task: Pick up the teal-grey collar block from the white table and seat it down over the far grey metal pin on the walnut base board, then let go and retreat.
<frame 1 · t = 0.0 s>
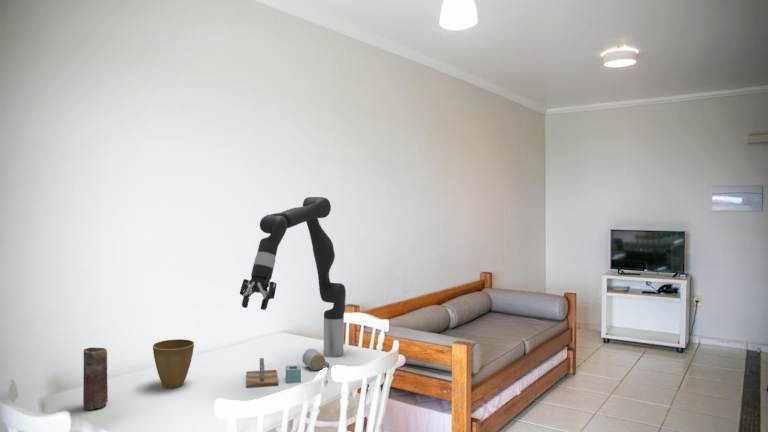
hand: (253, 308, 198), 31 cm above the table, tool tilted 20°, fingers open, 8 cm apart
ceramic mug: (316, 368, 230), on the table
pin board: (261, 379, 214), on the table
collar block: (293, 380, 214), on the table
plant pot: (173, 385, 207), on the table
candle: (95, 407, 185), on the table
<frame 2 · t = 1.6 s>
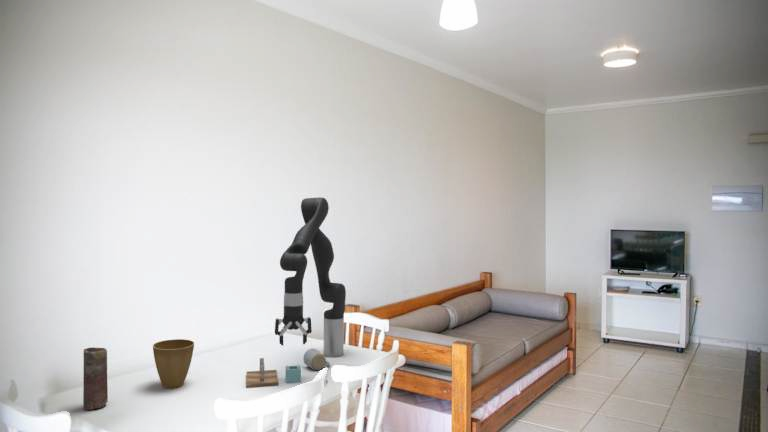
hand: (293, 344, 214), 14 cm above the table, tool pointing down, fingers open, 8 cm apart
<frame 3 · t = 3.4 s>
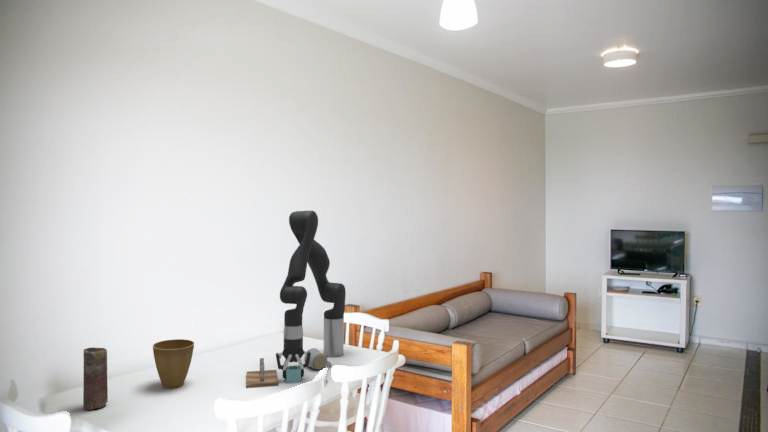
hand: (293, 378, 214), 1 cm above the table, tool pointing down, fingers closed on collar block, 5 cm apart
collar block: (293, 380, 214), on the table, touching gripper
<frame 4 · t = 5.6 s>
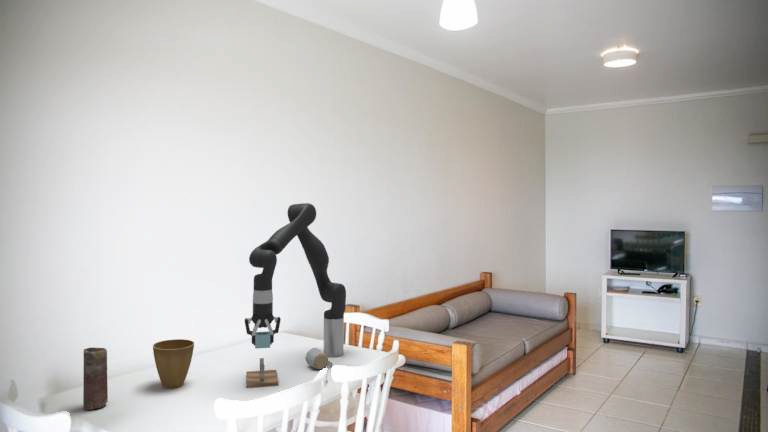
hand: (262, 344, 209), 15 cm above the table, tool pointing down, fingers closed on collar block, 5 cm apart
collar block: (262, 346, 209), point 15 cm above the table, touching gripper
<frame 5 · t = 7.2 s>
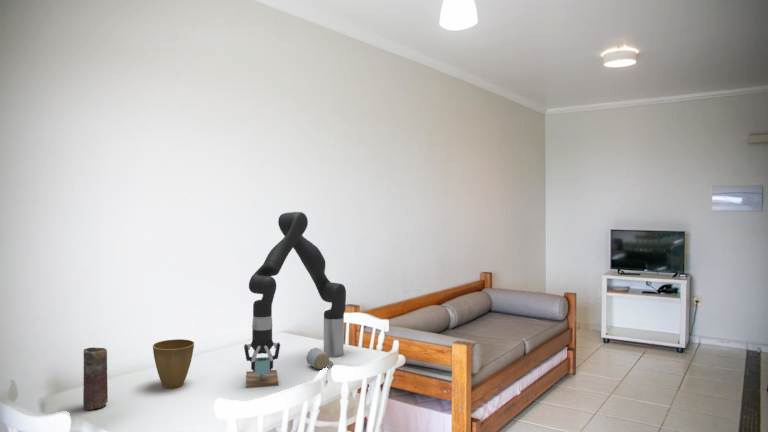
hand: (262, 370, 210), 5 cm above the table, tool pointing down, fingers closed on collar block, 5 cm apart
collar block: (262, 372, 210), point 5 cm above the table, touching gripper
when the fingers open (3 cm above the table, at t = 8.2 s): collar block stays where it is, resting on pin board.
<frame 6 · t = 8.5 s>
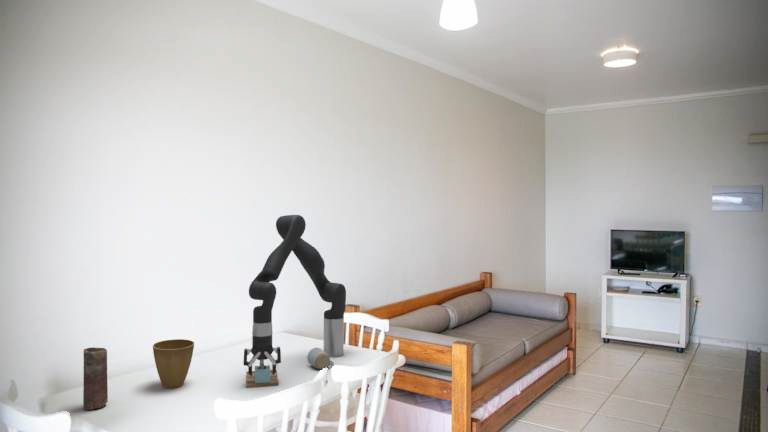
hand: (262, 374, 210), 3 cm above the table, tool pointing down, fingers open, 8 cm apart
collar block: (262, 380, 210), point 1 cm above the table, touching pin board
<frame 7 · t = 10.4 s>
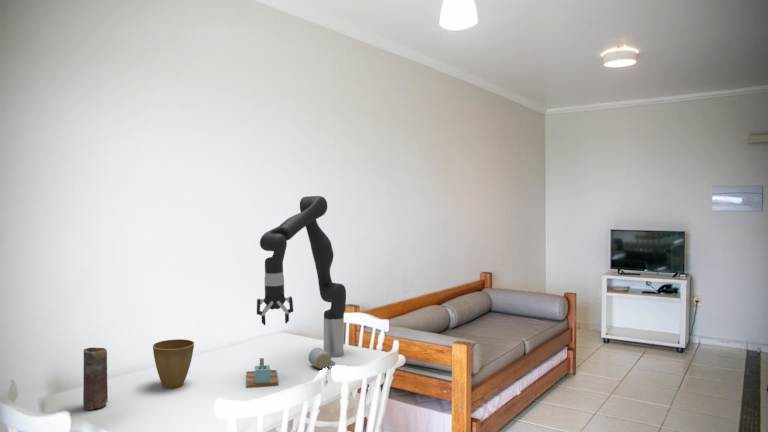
hand: (275, 323, 215), 22 cm above the table, tool pointing down, fingers open, 8 cm apart
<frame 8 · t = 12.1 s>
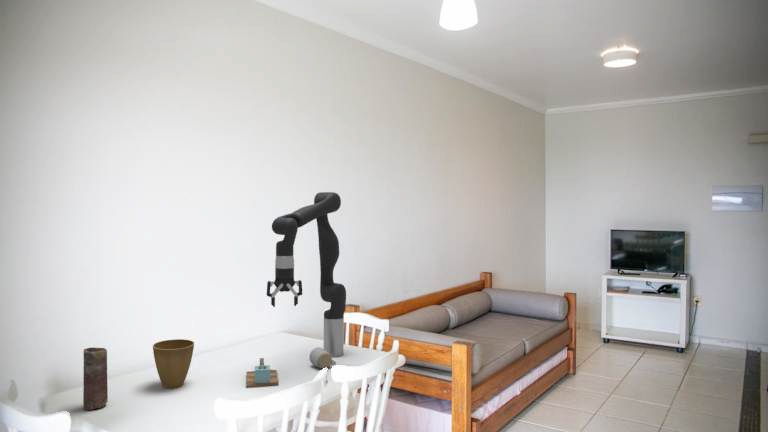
hand: (284, 306, 220), 28 cm above the table, tool pointing down, fingers open, 8 cm apart
at the end: collar block 0.1 cm from the target spot on the pin board, point 1.2 cm above the pin board's base; the gripper is holding nothing; collar block tilted 0° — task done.
